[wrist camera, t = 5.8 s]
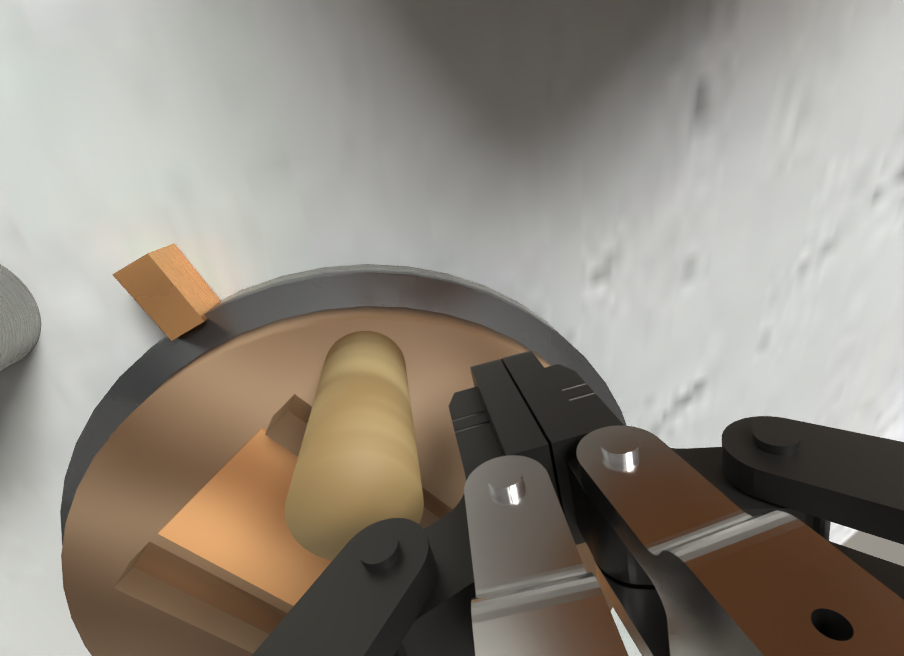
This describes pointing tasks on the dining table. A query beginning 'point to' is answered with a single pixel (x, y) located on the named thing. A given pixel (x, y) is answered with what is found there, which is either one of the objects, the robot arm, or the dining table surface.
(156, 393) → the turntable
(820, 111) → the dining table surface
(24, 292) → the banded metal capsule
